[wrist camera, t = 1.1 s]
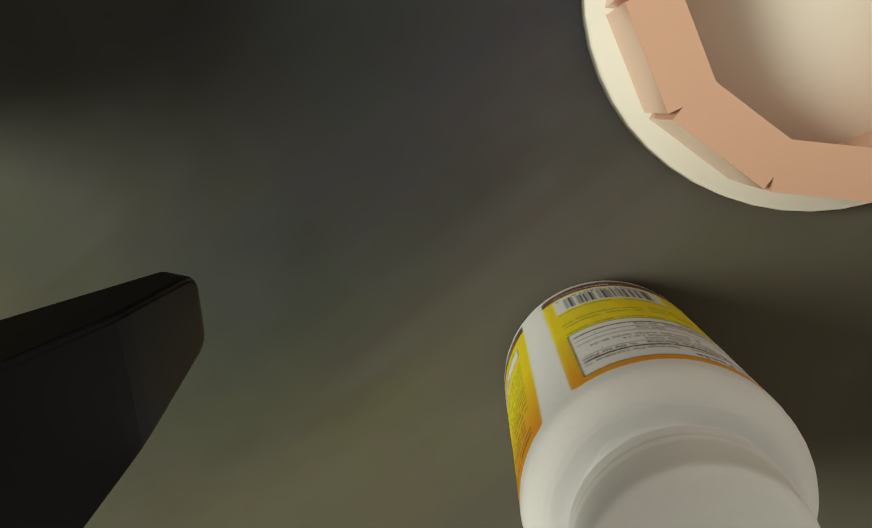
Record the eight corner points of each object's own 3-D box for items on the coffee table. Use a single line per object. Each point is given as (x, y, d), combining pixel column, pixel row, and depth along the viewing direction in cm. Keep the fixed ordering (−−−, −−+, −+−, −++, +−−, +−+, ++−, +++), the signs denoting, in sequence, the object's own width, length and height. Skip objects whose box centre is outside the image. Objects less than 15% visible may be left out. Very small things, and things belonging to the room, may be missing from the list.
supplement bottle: (592, 498, 23) (682, 794, 13) (462, 364, 23) (454, 571, 13) (743, 375, 22) (961, 595, 12) (612, 233, 22) (729, 343, 12)
